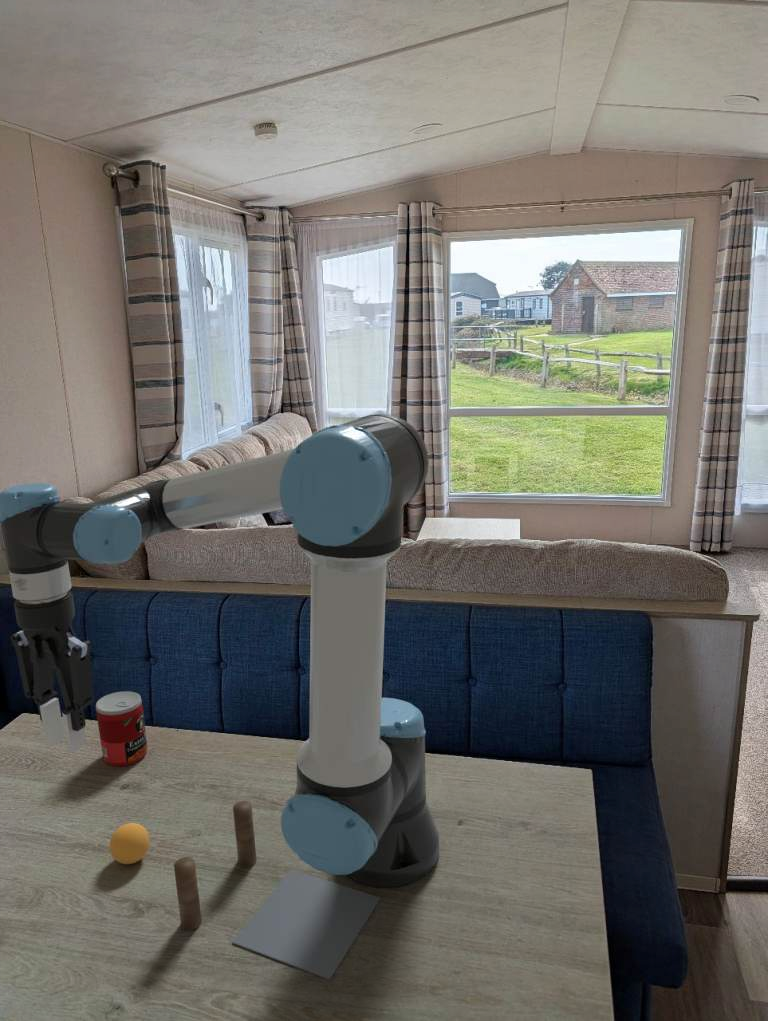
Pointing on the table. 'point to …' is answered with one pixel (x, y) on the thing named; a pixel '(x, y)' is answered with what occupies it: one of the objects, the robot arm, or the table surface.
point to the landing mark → (308, 923)
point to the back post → (244, 833)
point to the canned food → (121, 728)
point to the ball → (129, 843)
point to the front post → (187, 893)
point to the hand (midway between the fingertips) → (66, 744)
